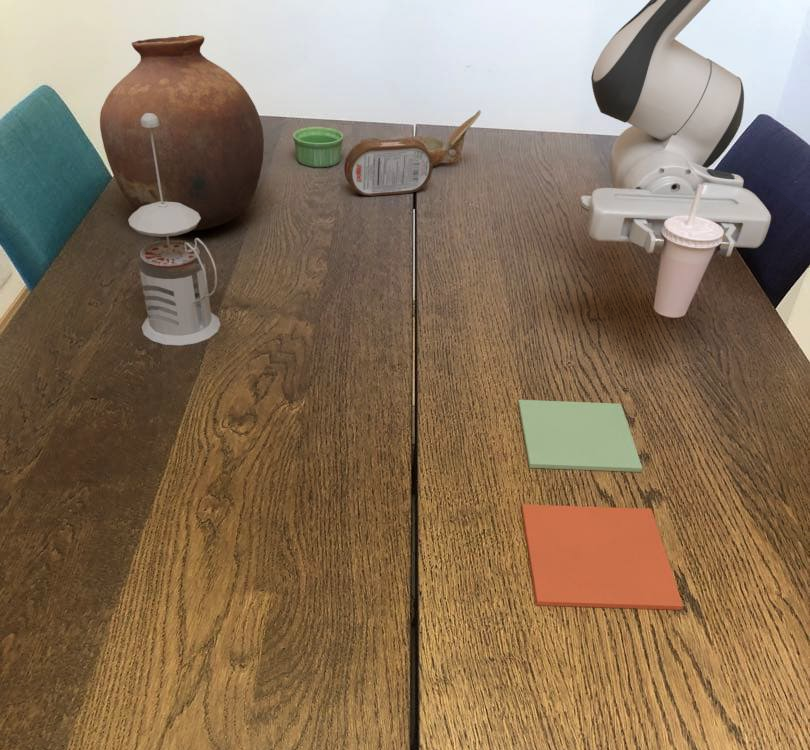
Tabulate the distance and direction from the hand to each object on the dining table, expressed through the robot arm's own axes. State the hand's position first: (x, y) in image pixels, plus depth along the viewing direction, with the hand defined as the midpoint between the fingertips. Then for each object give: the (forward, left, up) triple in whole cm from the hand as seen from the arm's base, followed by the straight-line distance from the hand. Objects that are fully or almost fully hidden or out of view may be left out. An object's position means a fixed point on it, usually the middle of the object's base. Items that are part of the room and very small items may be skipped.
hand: (691, 248), depth 88 cm
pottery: (+63, -41, -17) cm, 77 cm away
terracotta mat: (+12, +31, -17) cm, 37 cm away
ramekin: (+46, -70, -17) cm, 86 cm away
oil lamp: (+28, -71, -17) cm, 78 cm away
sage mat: (+11, +12, -17) cm, 23 cm away
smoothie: (0, -1, -8) cm, 8 cm away
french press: (+58, -8, -17) cm, 61 cm away
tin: (+33, -56, -17) cm, 67 cm away
